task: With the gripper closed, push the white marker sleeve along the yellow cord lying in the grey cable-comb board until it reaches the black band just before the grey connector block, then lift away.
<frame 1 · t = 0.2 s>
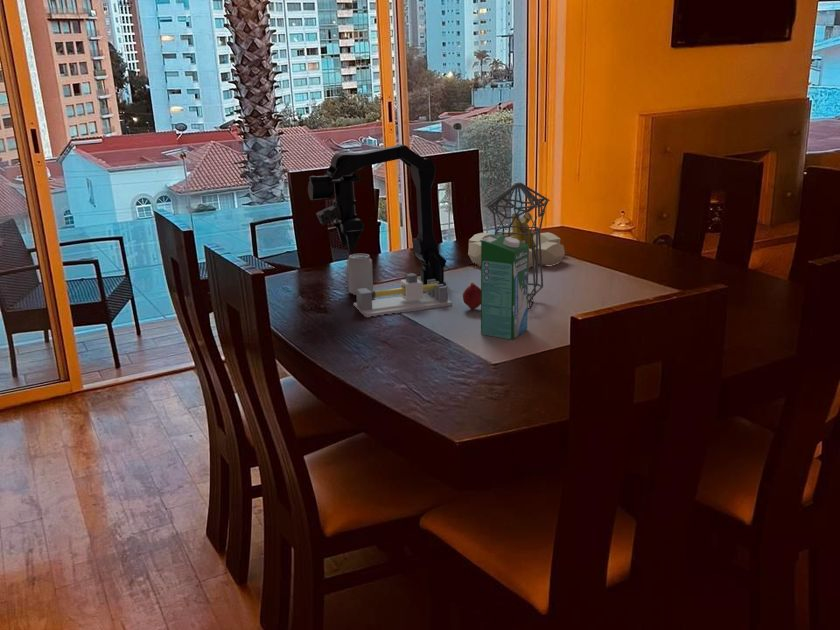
hand: (347, 248, 229), 14 cm above the table, tool pointing down, fingers open, 9 cm apart
sleeve: (411, 286, 220), point 5 cm above the table, slide at 0.0 cm
onion: (473, 310, 216), on the table
campfire: (514, 260, 272), on the table
milk carton: (504, 332, 197), on the table
geometric lantern: (516, 303, 221), on the table
can: (361, 293, 235), on the table
comb board: (402, 305, 221), on the table
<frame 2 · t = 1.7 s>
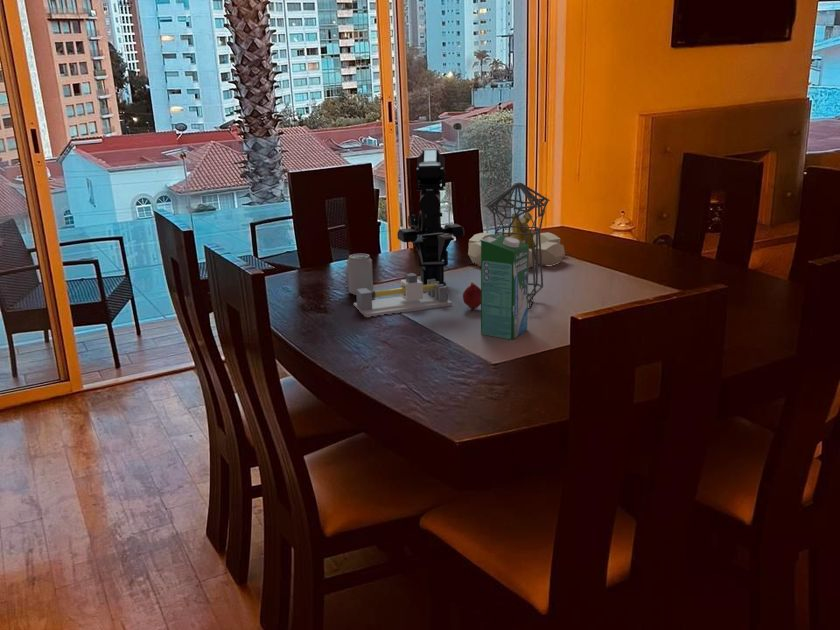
hand: (431, 262, 221), 12 cm above the table, tool pointing down, fingers open, 5 cm apart
nothing on the table moved.
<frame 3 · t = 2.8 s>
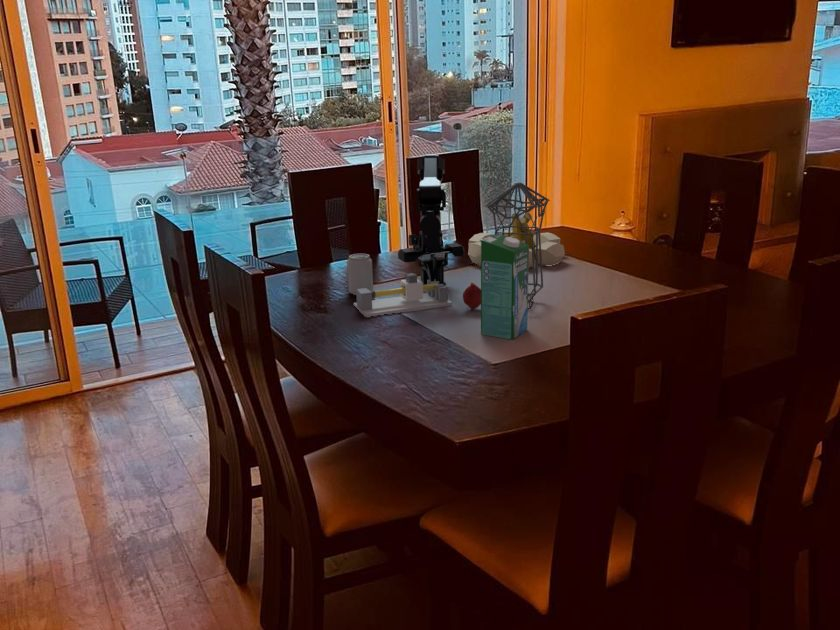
hand: (431, 281, 222), 6 cm above the table, tool pointing down, fingers closed
nothing on the table moved.
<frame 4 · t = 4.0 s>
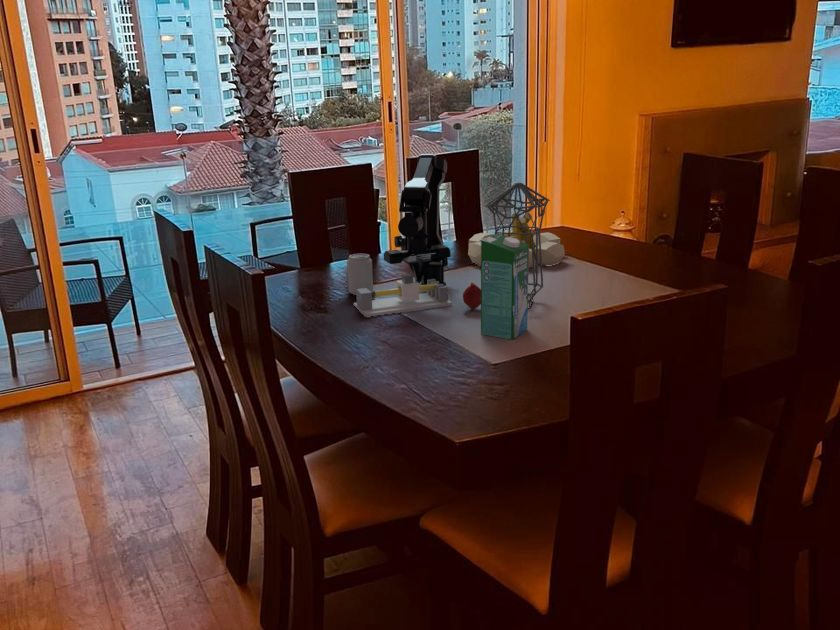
hand: (418, 283, 221), 6 cm above the table, tool pointing down, fingers closed
sleeve: (407, 286, 220), point 6 cm above the table, slide at 1.2 cm, touching gripper
everything else where it was.
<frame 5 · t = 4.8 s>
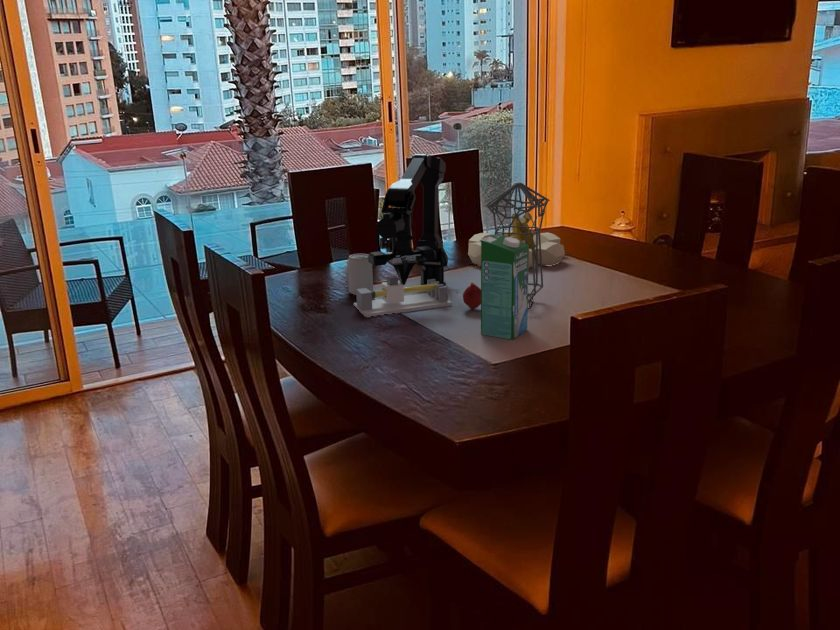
hand: (403, 284, 219), 6 cm above the table, tool pointing down, fingers closed
sleeve: (392, 288, 218), point 6 cm above the table, slide at 5.9 cm, touching gripper
everything else where it was.
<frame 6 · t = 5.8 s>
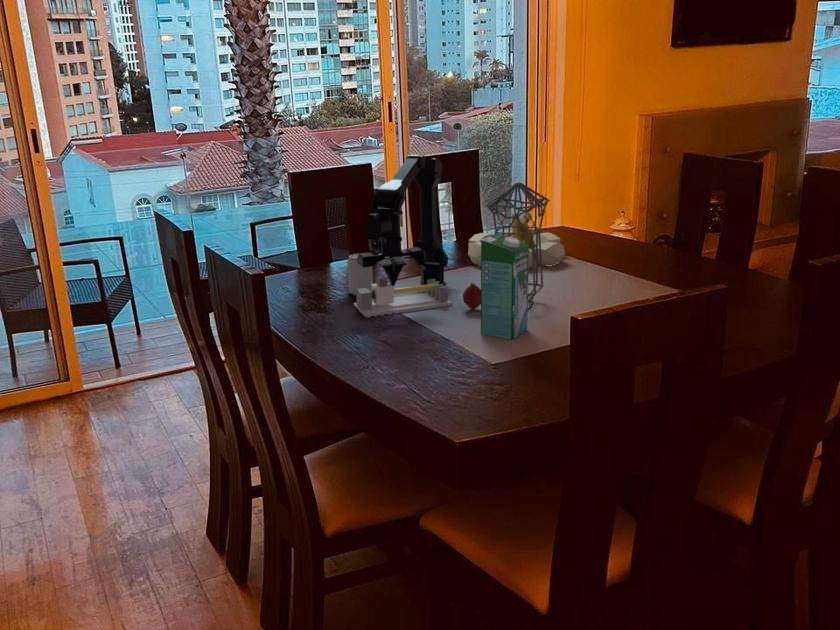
hand: (392, 286, 218), 6 cm above the table, tool pointing down, fingers closed
sleeve: (382, 290, 217), point 5 cm above the table, slide at 9.0 cm, touching gripper
everything else where it was.
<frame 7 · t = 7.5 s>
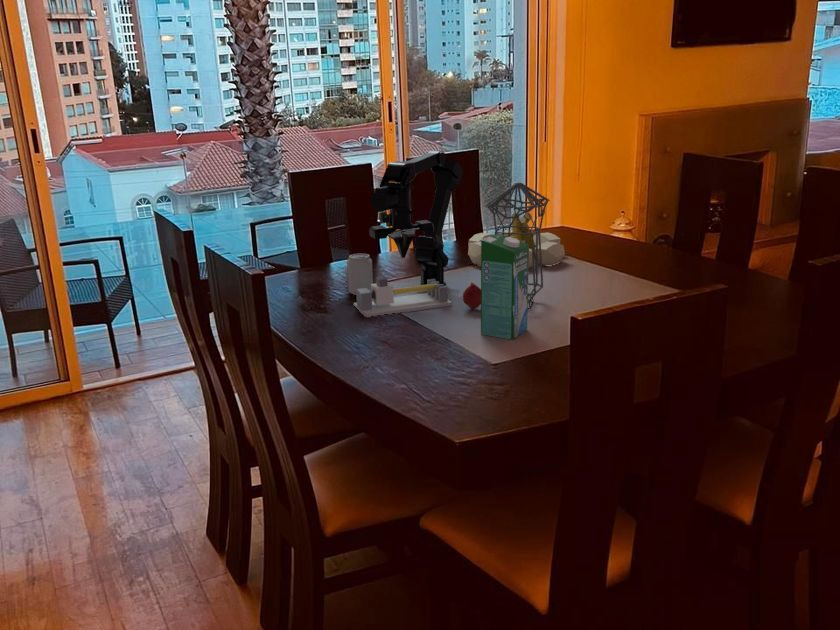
hand: (403, 257, 228), 12 cm above the table, tool pointing down, fingers closed
sleeve: (382, 290, 217), point 6 cm above the table, slide at 9.0 cm
everything else where it was.
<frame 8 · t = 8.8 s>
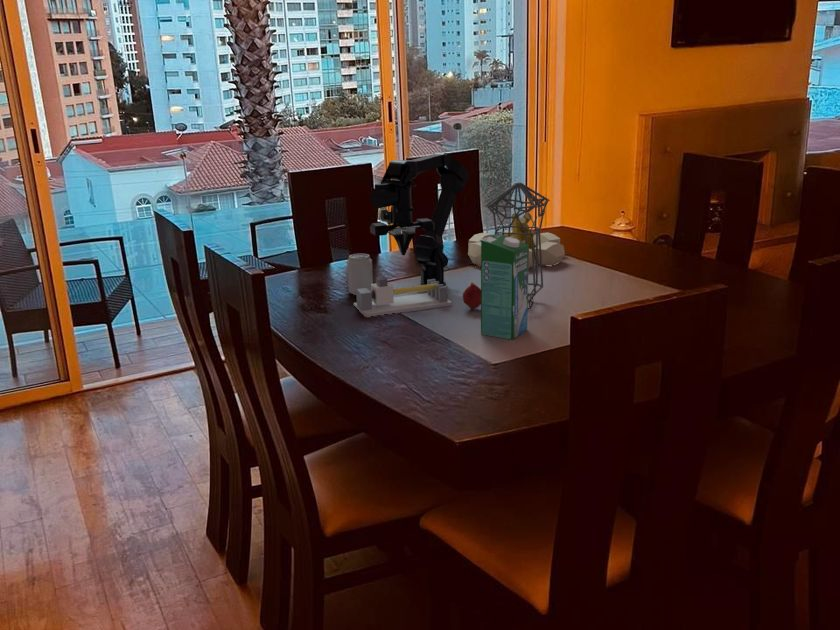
hand: (403, 255, 230), 12 cm above the table, tool pointing down, fingers closed
nothing on the table moved.
at the end: sleeve slide at 9.0 cm; sleeve touching nothing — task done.
